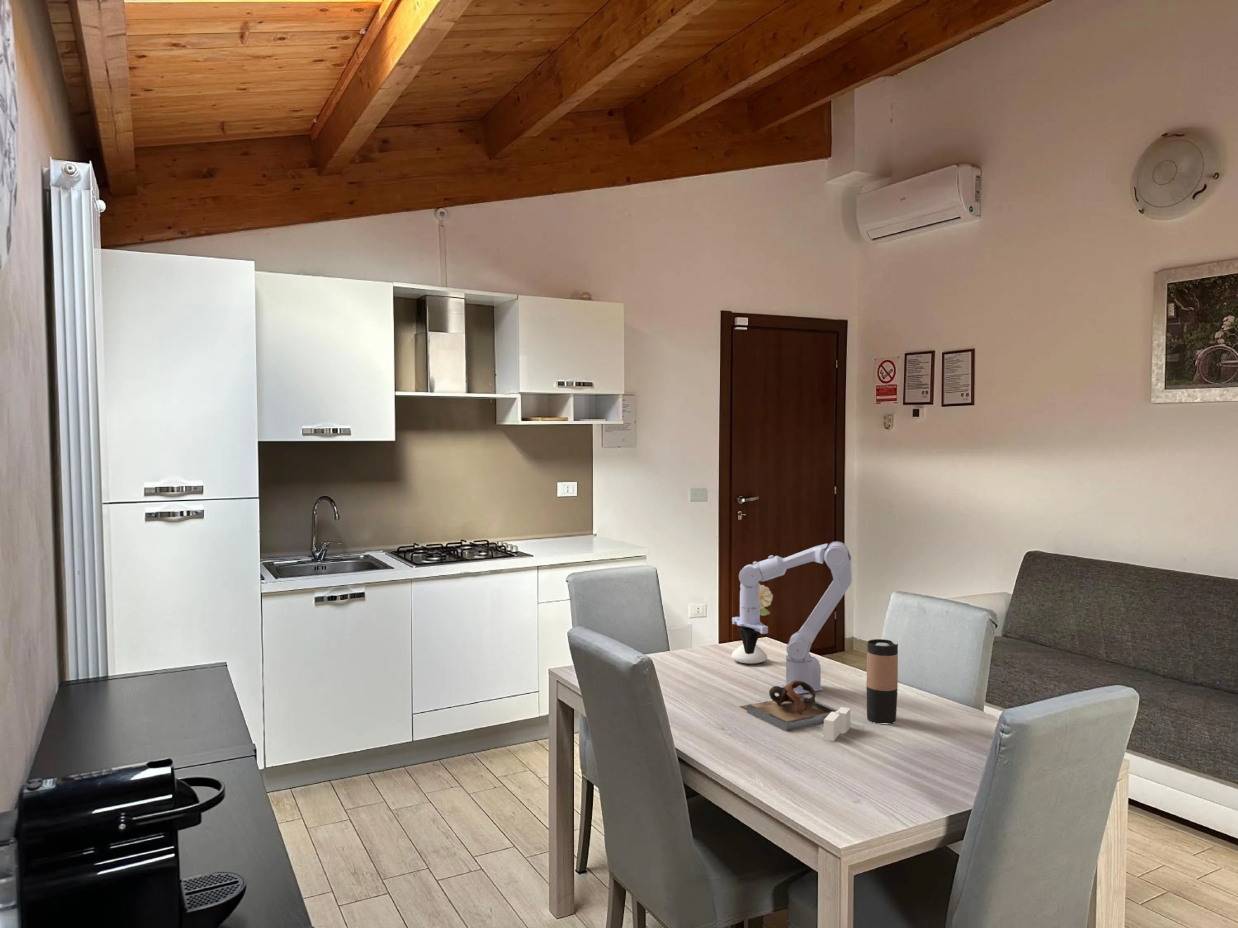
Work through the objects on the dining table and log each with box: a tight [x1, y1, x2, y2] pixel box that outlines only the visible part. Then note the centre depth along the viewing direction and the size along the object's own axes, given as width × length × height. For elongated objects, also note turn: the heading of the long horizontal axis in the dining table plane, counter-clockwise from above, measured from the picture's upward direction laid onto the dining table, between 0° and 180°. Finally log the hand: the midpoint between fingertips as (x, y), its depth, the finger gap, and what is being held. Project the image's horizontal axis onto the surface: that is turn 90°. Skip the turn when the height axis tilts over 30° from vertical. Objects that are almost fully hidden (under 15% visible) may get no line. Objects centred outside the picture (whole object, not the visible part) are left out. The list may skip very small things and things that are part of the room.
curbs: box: [746, 694, 839, 732], centre depth 229 cm, size 18×16×2 cm
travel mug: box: [865, 638, 899, 724], centre depth 226 cm, size 8×8×20 cm
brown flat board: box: [738, 699, 827, 721], centre depth 232 cm, size 16×20×2 cm
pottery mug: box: [768, 680, 817, 714], centre depth 232 cm, size 12×10×8 cm
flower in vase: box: [730, 583, 774, 664], centre depth 280 cm, size 13×11×25 cm
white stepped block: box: [823, 706, 851, 742], centre depth 216 cm, size 15×11×6 cm
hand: (749, 653), depth 255 cm, fingers closed
